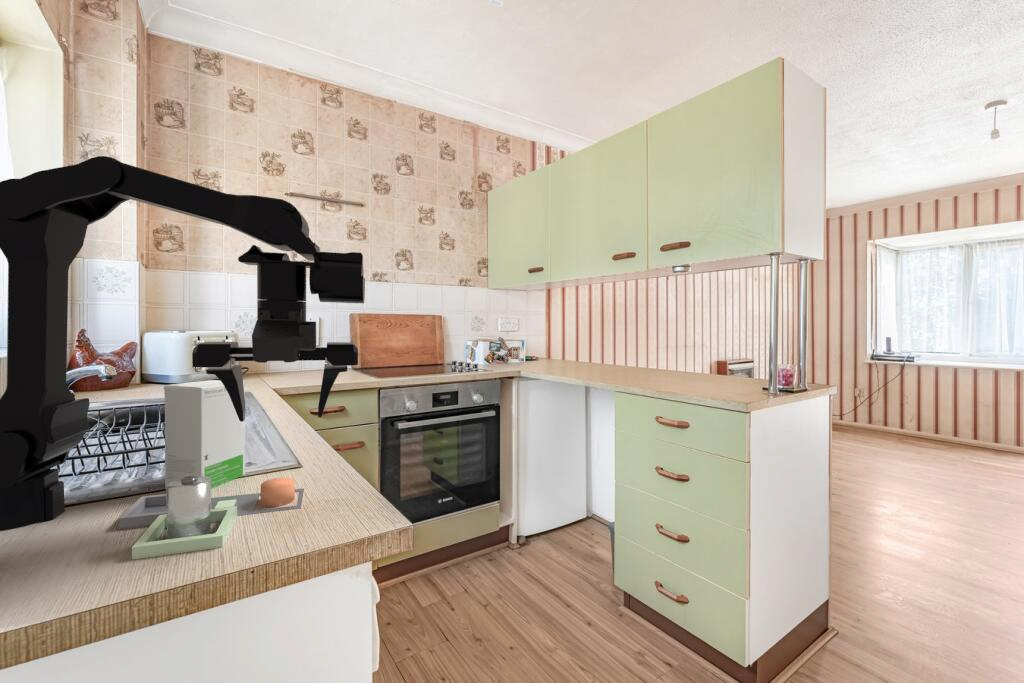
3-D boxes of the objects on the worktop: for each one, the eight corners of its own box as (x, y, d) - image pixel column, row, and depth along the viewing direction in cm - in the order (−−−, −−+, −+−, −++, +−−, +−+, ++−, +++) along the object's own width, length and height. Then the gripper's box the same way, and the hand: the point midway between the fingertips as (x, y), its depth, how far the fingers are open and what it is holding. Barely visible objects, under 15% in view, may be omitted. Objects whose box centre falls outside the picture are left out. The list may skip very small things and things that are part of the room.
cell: (161, 552, 48) (160, 486, 47) (173, 534, 51) (172, 473, 51) (206, 546, 49) (205, 482, 49) (214, 529, 53) (214, 470, 53)
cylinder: (258, 509, 58) (258, 490, 57) (263, 497, 61) (263, 479, 61) (293, 505, 59) (293, 486, 59) (295, 493, 63) (295, 476, 63)
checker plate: (116, 538, 51) (115, 519, 51) (140, 512, 58) (140, 496, 57) (300, 515, 58) (300, 498, 58) (304, 495, 65) (304, 480, 64)
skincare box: (200, 500, 62) (199, 388, 61) (160, 495, 63) (159, 385, 62) (247, 479, 70) (247, 380, 69) (211, 475, 71) (211, 377, 70)
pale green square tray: (132, 568, 45) (131, 547, 45) (159, 533, 52) (159, 515, 52) (222, 555, 48) (222, 535, 48) (237, 523, 55) (237, 506, 55)
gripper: (176, 295, 48) (178, 440, 49) (360, 302, 55) (359, 428, 56) (204, 298, 58) (205, 417, 59) (356, 304, 65) (355, 410, 66)
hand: (282, 418), depth 60 cm, fingers open, 9 cm apart
